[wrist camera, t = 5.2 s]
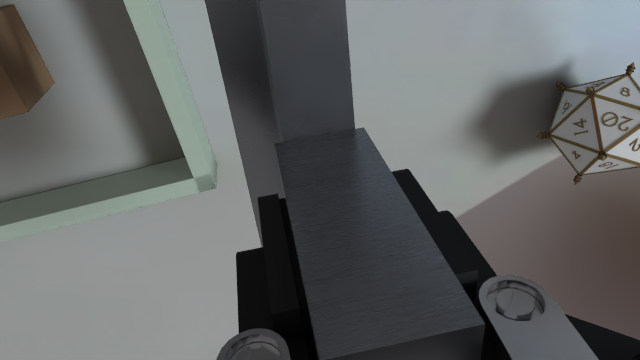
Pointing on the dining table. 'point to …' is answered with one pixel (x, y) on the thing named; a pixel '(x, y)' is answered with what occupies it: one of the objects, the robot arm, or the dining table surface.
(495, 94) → the dining table surface
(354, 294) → the rake
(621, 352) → the robot arm
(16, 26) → the walnut block
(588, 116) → the game die
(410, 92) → the dining table surface
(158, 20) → the sage pen
